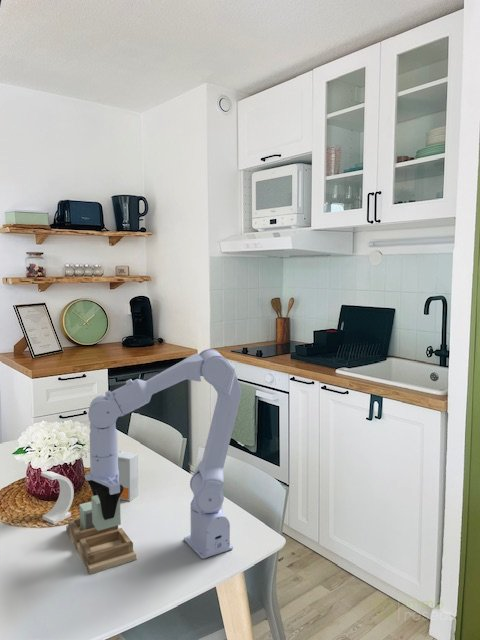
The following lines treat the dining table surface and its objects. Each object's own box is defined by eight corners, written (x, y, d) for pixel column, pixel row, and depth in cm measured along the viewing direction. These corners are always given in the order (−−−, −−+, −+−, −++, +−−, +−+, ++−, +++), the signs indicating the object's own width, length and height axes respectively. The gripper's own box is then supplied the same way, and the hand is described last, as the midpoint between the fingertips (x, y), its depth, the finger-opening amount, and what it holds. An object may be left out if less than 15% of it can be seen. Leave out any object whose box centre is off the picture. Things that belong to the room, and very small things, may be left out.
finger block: (120, 524, 110) (120, 498, 109) (97, 530, 107) (96, 503, 107) (114, 516, 114) (113, 490, 113) (91, 522, 111) (90, 495, 111)
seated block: (106, 531, 119) (106, 506, 118) (85, 537, 116) (84, 512, 116) (101, 523, 123) (100, 499, 122) (80, 528, 120) (79, 504, 119)
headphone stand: (42, 518, 127) (40, 472, 126) (63, 509, 132) (61, 464, 131) (53, 524, 124) (51, 477, 123) (74, 514, 129) (73, 469, 128)
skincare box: (111, 498, 138) (110, 455, 137) (120, 491, 142) (119, 450, 141) (130, 502, 136) (129, 458, 135) (139, 495, 140) (138, 453, 139)
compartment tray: (136, 559, 110) (136, 545, 109) (89, 574, 105) (89, 559, 104) (107, 519, 127) (107, 507, 126) (66, 530, 121) (65, 517, 121)
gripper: (76, 445, 113) (77, 504, 114) (94, 467, 101) (96, 533, 102) (107, 440, 117) (108, 496, 118) (129, 460, 104) (130, 524, 106)
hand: (105, 513), depth 110 cm, fingers closed on finger block, 4 cm apart
